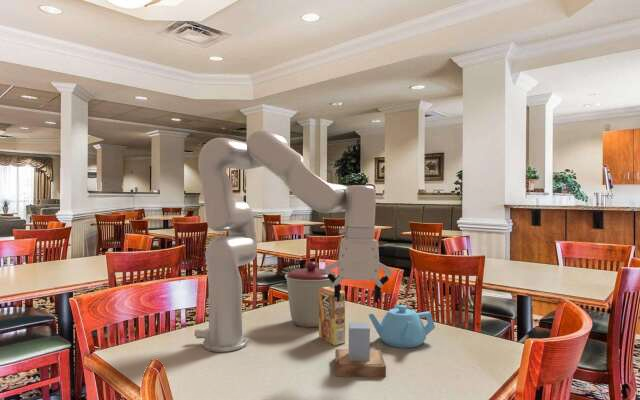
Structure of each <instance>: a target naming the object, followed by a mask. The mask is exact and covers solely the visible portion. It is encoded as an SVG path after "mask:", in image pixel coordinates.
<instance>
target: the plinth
mask: <svg viewBox="0 0 640 400" xmlns="http://www.w3.org/2000/svg"><path fill="white" fill-rule="evenodd" d="M334 355H335V376H336V377H361V378H362V377H369V378H371V377H372V378H373V377H375V378H381V377H382V378H386V377H387V365H386V363H385V360H384V356H383V354H382V350H381V349H370V361H349V348H348V349H342V348H340V349H339V348H338V349H335V354H334Z"/></svg>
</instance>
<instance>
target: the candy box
mask: <svg viewBox="0 0 640 400" xmlns="http://www.w3.org/2000/svg"><path fill="white" fill-rule="evenodd" d="M318 337H319V338H320V339H322V340H324V341H326V342H328V343H330V344H332V345H333V346H337V345H341V344H345V343H346V292H345V291H344V290H340V301H337V297H334V288H331V287H323V288H319V327H318Z"/></svg>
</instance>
